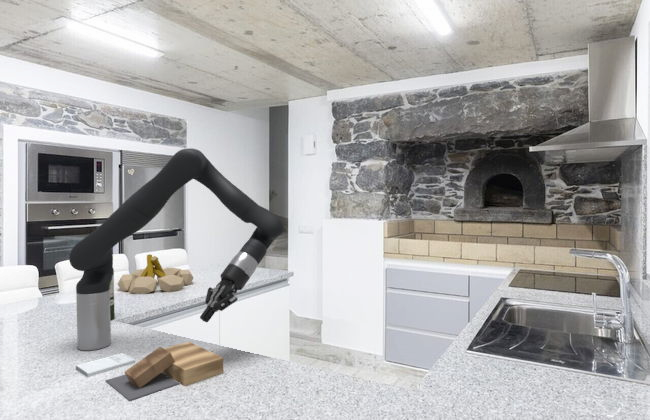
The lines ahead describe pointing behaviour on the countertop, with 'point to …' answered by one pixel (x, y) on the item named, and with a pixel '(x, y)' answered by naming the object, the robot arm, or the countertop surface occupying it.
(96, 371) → the external hard drive
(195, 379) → the wooden block
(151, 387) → the mat
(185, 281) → the campfire
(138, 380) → the brown wood brick
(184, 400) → the countertop surface
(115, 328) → the countertop surface
